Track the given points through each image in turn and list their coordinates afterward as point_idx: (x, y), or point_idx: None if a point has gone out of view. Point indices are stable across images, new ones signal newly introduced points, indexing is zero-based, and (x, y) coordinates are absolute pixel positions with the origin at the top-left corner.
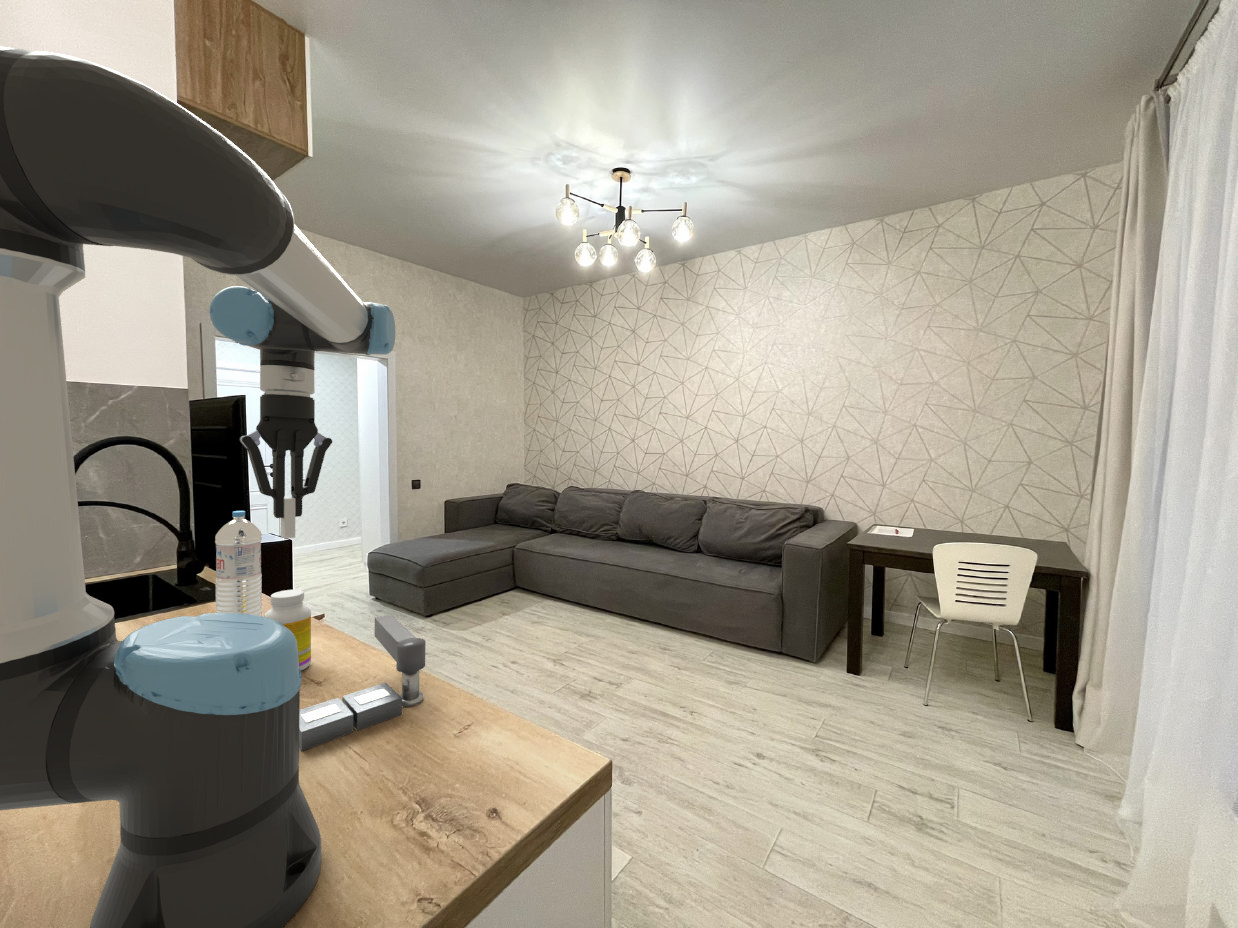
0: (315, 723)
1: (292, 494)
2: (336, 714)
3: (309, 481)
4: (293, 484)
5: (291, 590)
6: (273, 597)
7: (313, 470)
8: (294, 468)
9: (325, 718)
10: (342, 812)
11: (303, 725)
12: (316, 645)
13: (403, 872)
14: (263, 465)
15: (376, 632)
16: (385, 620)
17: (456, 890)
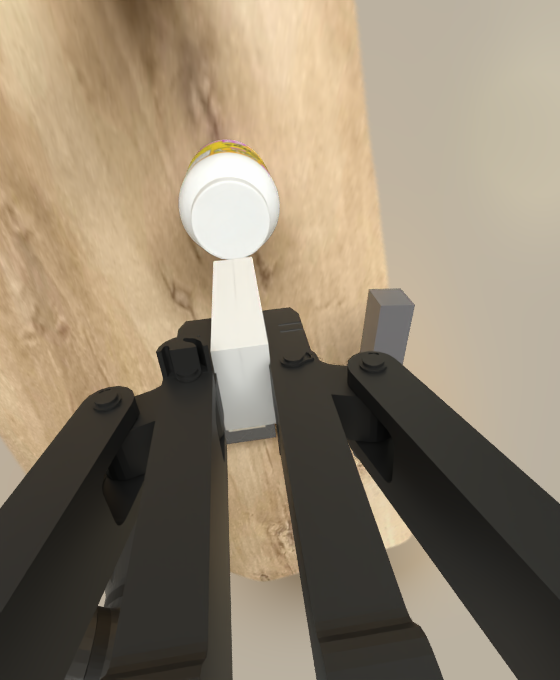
0: (237, 436)
1: (272, 392)
2: (260, 429)
3: (377, 482)
4: (282, 458)
5: (243, 194)
6: (196, 239)
7: (434, 552)
8: (302, 590)
9: (248, 432)
10: (240, 510)
11: (225, 434)
12: (296, 70)
13: (260, 560)
14: (63, 668)
15: (370, 306)
16: (389, 332)
17: (280, 577)
